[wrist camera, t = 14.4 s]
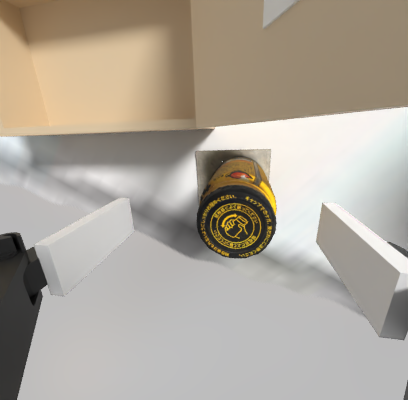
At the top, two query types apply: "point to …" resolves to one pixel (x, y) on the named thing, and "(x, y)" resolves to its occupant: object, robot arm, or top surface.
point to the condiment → (235, 201)
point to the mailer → (96, 67)
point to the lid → (297, 58)
